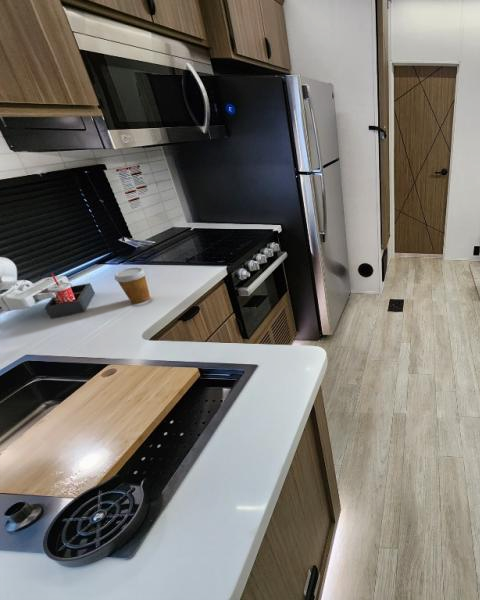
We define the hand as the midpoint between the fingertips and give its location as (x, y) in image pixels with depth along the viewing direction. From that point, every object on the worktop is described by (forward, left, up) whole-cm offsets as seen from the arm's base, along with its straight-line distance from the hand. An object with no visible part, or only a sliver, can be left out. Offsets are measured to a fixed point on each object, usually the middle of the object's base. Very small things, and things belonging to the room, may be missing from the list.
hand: (63, 289), depth 121 cm
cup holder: (-1, +5, -8) cm, 10 cm away
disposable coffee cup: (+21, -3, -9) cm, 23 cm away
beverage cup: (-1, 0, -8) cm, 8 cm away
